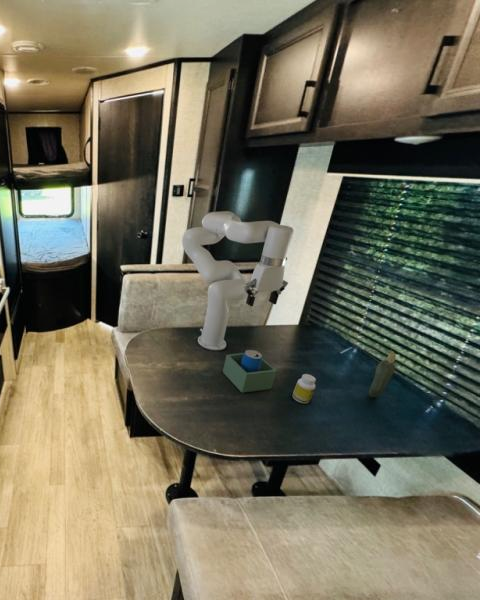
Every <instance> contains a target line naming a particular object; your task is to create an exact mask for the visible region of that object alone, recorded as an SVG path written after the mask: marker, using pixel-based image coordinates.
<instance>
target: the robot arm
mask: <svg viewBox="0 0 480 600" xmlns="http://www.w3.org/2000/svg"><path fill="white" fill-rule="evenodd" d="M201 225H202V226H197V227H192V228H188V229H187V230H185V231H184V232H183V234H182V238H181V243H182V248H183V250H184V252H185V254H186V255H187V257H188V258H189V259H190V260H191V262H192V263H193V265H194V266H195V268H196V270H197V272H198V274H199V275H200V277H201V279H202V281H204V282H205V283H209V284H210V283H211V284H210V285H209V286H208V288H207V305H206V312H205V317H204V322H203V327H202V328H200V329H199V332H201V335H199V336H198V338H197V343H198V344H199V345H200V346H201V347H203V348H204V349H207V350H210V351H222V350H224V349H226V348H227V342H226V341H225V336H226V331H227V327H228V323H229V322H228V321H229V318H230V307H229V306H228V303H230V302H234V301H235V302H236V301H239V300H243V299H246V302H245V304H246V305H248V306H249V307H254V305H255V304H254V303H255V300H256V295H257V294H258V293H262V292H263V293H264V292H270V295H269V298H268V299H269V300H268V302H269V303H271V304H273V305H277V303H278V299H279V296H280V295H281V294H282V292H283V291H284V290H285V289H286V287H287V286H288V285H289V282H288V281H286V280H284V277H285V270H286V268H285V267H286V266H285V263H286V261H287V260H288V257H287V256H288V252H289V249H290V246H291V242H292V239H293V235H294V229H293V227H291V226H290V225H285V224H279V223H278V222H275V221H272V220H258V221H257V220H256V221H242V220H241V217H239V216H238V215H236V214H235V213H234V212H232V211H229V210H224V211H223V210H222V211H211V212H208V213H207V214H205V215H204V217H203V218H202V219H201ZM224 237H226V239H228V240H229V241H233V242H235V243H240V244H255V243H264V245H263V249H262V253H261V256H260V260H259V262H258V263H256V265H255V267H254V270H253V273H252V275H251V279H250V281H248V282H247V281H246V279H245V278H244V276H243V275H242V273H241V272H240V270H239V269H238V267H237V265H236V264H234V263H233V262H232V261H231V260H227V259H225V260H216V259H215V258H214V257H213V256H212V254H211V252H210V251H209V250H207V248H205V247H203V246H206V245H207V246H208V245H214V244H217V243H218V242H220V241H221V240H222V239H223V238H224Z"/></svg>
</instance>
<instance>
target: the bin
mask: <svg viewBox="0 0 480 600" xmlns="http://www.w3.org/2000/svg"><path fill="white" fill-rule="evenodd" d="M244 353H245V352H239V353H231V354H226V355H225V361H224V364H223V369H222V373H223V375H225V376H226V378H227V379H229V381H230V382H231V383H232V384H233V386H235V387H236V388H237V390H238V391H239V392H241V393H242V394H243V393H249V392H256V391H257V392H258V391H265V390H271V389H272V388H273V385H274V382H275V379H276V376H277V372H278V370H277V369H276V368H275V367H274V366H272V364H270V363H269V362H268V361H266V359H264V358H263V357H262V362H261V365H260V369H259V372H251V373H247V372H246V371H245V370H244V369H243V368H242V367H241V366H240V365H241V362H242V358H243V354H244Z"/></svg>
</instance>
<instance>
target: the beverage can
mask: <svg viewBox="0 0 480 600" xmlns="http://www.w3.org/2000/svg"><path fill="white" fill-rule="evenodd" d="M243 353H244V354H243V358H242V362H241V365H240V366H241V367H242V368H243V369H244V370H245V371H246V372H247V373H251V372H259V369H260V365H261V362H262V358H263V357H262V354H261V352H259V351H257V350H254V349H247V350H245V352H243Z"/></svg>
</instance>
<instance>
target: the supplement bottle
mask: <svg viewBox="0 0 480 600" xmlns="http://www.w3.org/2000/svg"><path fill="white" fill-rule="evenodd" d="M316 380H317V379H316V377H314V376H313V375H311V374H308V373H304V374H302V376H301V378H299V379H297V382H296V385H295V387H294V389H293V392H292V394H291V395H292V398H293V399H294V400H295V401H296V402H298V403H300V404H308V403H310V401H311V399H312V397H313V395H314V392H315V390H316V384H315V383H316Z"/></svg>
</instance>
